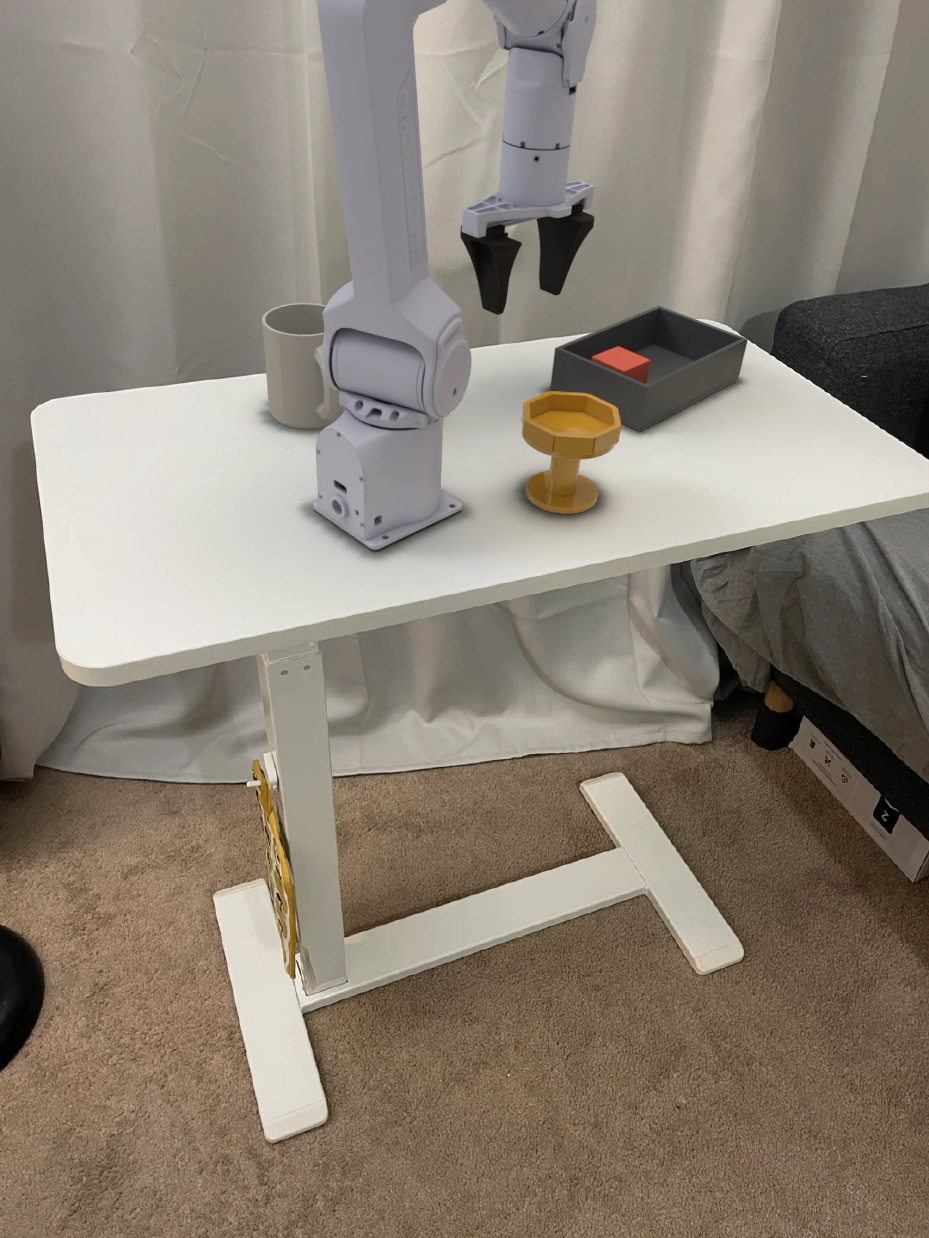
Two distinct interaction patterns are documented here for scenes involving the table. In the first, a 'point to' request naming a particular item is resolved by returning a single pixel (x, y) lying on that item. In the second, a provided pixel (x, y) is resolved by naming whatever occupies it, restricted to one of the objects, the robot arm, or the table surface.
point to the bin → (652, 365)
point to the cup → (298, 367)
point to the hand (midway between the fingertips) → (522, 301)
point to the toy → (624, 363)
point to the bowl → (567, 446)
